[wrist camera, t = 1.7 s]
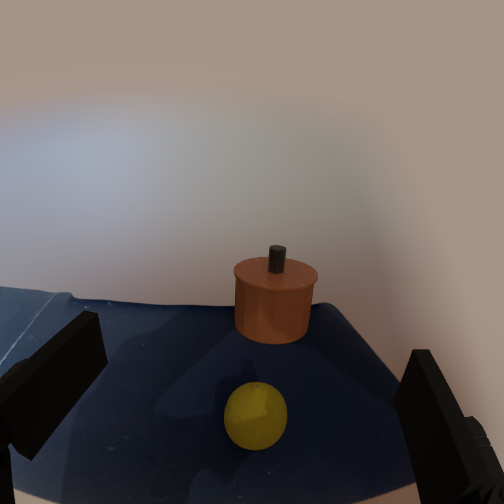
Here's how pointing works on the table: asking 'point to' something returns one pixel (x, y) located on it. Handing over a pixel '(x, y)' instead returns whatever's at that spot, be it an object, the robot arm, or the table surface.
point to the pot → (272, 313)
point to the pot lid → (275, 272)
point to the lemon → (255, 416)
